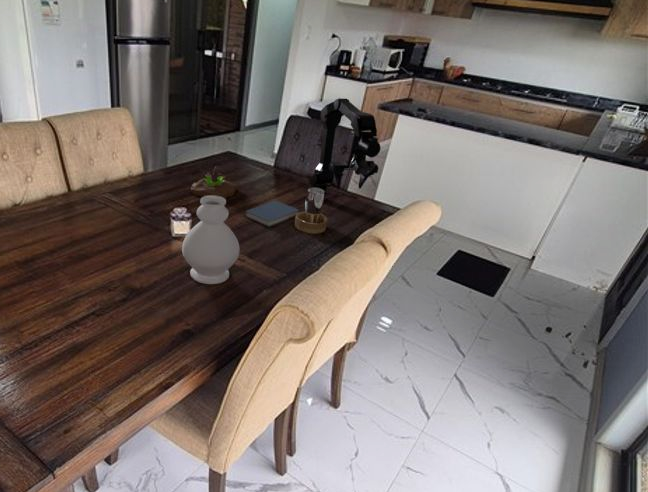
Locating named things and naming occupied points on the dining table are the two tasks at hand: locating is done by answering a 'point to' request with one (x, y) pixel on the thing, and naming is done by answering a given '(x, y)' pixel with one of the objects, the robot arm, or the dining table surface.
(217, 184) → the plant
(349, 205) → the dining table surface
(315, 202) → the beer glass
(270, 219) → the book
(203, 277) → the decorative vase
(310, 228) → the wooden bowl
